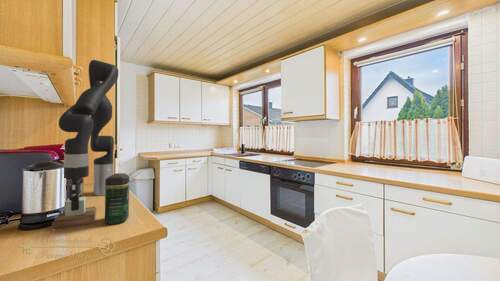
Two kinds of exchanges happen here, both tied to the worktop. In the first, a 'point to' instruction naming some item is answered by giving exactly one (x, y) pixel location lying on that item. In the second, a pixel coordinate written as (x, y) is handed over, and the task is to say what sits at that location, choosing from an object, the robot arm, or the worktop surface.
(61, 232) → the worktop surface
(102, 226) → the worktop surface
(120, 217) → the coffee jar
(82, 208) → the sage cube
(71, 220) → the walnut base
